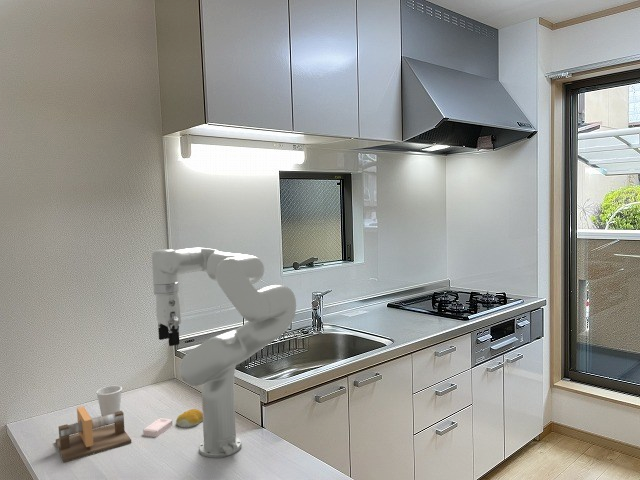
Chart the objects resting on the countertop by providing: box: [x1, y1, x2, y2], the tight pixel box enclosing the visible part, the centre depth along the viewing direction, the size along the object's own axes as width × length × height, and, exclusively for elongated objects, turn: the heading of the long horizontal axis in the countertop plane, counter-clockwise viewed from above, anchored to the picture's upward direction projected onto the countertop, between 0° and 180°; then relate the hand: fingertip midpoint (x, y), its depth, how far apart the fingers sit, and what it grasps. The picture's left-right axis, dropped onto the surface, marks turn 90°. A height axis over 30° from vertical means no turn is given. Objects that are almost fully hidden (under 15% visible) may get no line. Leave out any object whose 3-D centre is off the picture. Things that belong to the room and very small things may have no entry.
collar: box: [76, 406, 94, 447], centre depth 154 cm, size 13×2×8 cm, turn 35°
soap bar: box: [142, 418, 173, 438], centre depth 163 cm, size 5×9×2 cm, turn 163°
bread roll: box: [175, 408, 203, 428], centre depth 169 cm, size 8×9×4 cm
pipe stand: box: [55, 409, 132, 463], centre depth 156 cm, size 16×19×8 cm
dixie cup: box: [95, 385, 123, 417], centre depth 175 cm, size 8×8×10 cm
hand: (169, 342), depth 158 cm, fingers open, 9 cm apart
